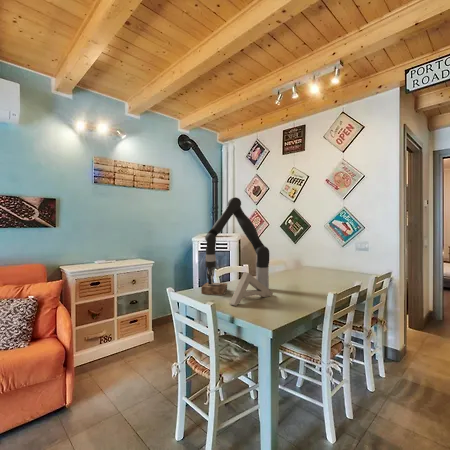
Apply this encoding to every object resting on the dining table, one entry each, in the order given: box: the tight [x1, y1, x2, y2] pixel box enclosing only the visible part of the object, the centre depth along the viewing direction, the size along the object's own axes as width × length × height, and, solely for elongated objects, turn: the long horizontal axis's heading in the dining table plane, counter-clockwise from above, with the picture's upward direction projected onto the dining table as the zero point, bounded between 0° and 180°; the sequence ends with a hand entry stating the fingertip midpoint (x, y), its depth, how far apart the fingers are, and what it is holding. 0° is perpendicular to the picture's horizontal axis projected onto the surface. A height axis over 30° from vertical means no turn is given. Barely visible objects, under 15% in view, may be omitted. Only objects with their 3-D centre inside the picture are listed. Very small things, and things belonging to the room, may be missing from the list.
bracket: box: [209, 274, 221, 286], centre depth 202 cm, size 8×4×10 cm, turn 78°
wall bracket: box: [229, 271, 274, 307], centre depth 181 cm, size 22×4×30 cm
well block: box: [200, 281, 228, 296], centre depth 202 cm, size 16×14×5 cm
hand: (210, 283), depth 203 cm, fingers closed on bracket, 4 cm apart
